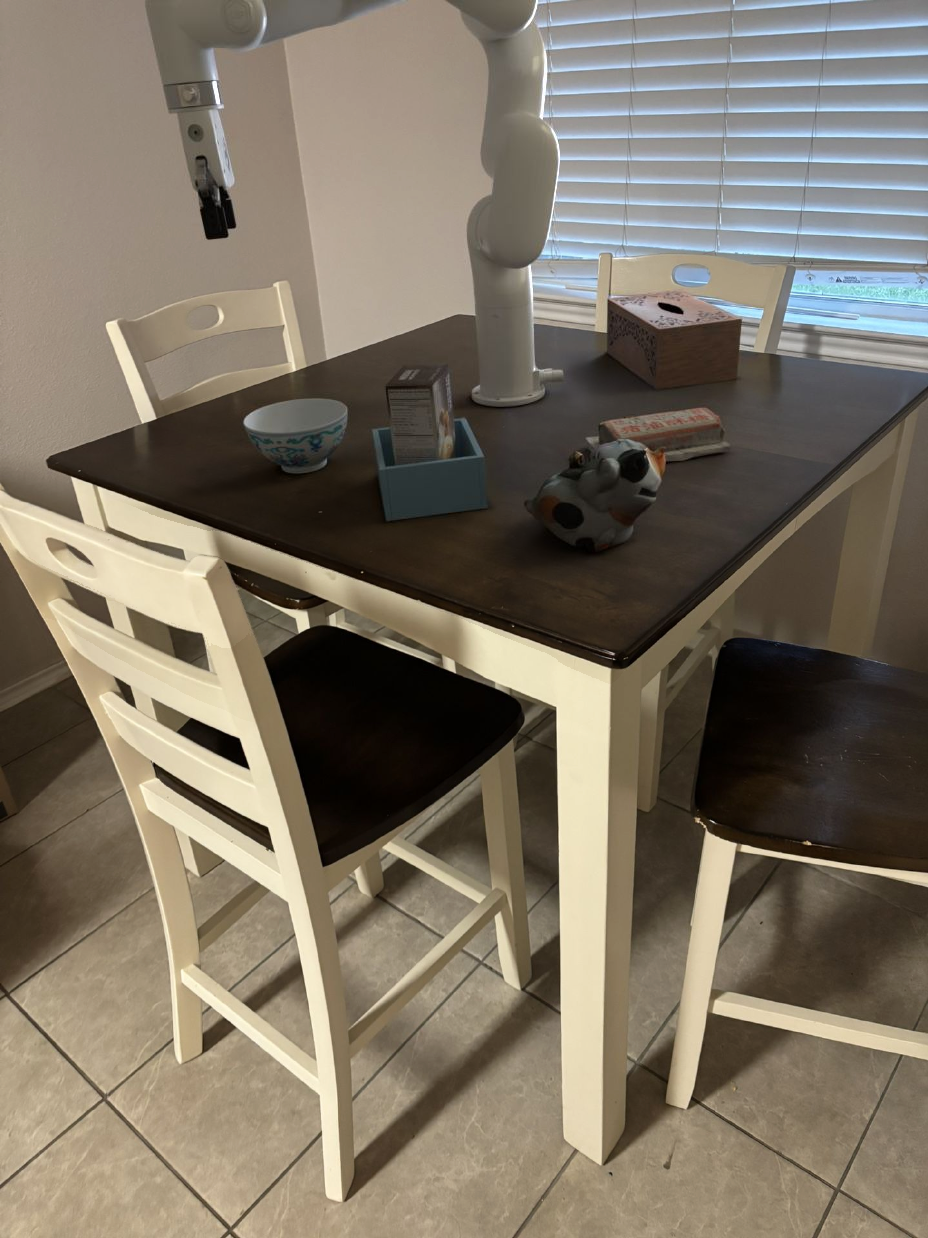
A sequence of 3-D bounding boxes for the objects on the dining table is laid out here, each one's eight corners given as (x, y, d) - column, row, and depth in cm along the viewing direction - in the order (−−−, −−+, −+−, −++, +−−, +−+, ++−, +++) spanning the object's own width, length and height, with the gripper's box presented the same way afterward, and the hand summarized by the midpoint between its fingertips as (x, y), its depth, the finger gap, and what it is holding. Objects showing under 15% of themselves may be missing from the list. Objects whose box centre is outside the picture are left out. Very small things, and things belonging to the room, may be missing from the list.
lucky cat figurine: (572, 497, 115) (628, 403, 108) (641, 555, 110) (704, 461, 103) (503, 507, 104) (560, 402, 97) (576, 571, 99) (642, 467, 92)
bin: (468, 464, 128) (465, 417, 124) (487, 508, 115) (484, 456, 111) (377, 476, 127) (371, 428, 123) (386, 521, 114) (379, 469, 110)
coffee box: (415, 477, 125) (402, 363, 117) (460, 478, 124) (450, 362, 116) (398, 505, 118) (383, 384, 109) (445, 505, 116) (434, 383, 108)
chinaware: (310, 491, 124) (300, 437, 120) (232, 475, 131) (221, 425, 127) (374, 454, 135) (368, 404, 131) (299, 441, 142) (291, 394, 138)
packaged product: (702, 399, 130) (733, 420, 122) (700, 431, 133) (731, 454, 124) (584, 416, 128) (608, 438, 119) (584, 448, 130) (607, 472, 122)
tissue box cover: (606, 352, 173) (607, 298, 167) (677, 342, 174) (680, 289, 169) (656, 389, 151) (658, 329, 146) (736, 378, 153) (741, 318, 147)
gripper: (213, 96, 115) (241, 239, 124) (229, 95, 130) (253, 223, 138) (154, 102, 114) (187, 245, 123) (177, 100, 129) (204, 228, 138)
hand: (222, 233), depth 131 cm, fingers open, 9 cm apart
